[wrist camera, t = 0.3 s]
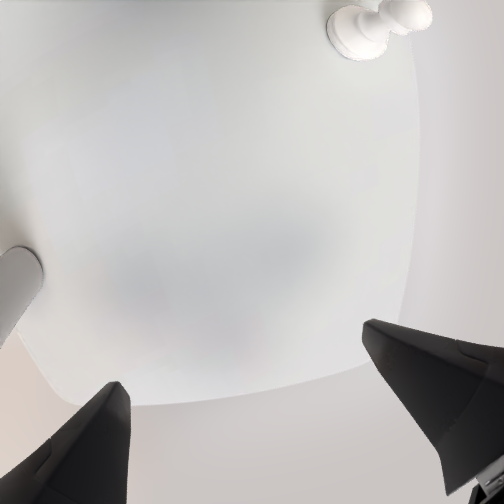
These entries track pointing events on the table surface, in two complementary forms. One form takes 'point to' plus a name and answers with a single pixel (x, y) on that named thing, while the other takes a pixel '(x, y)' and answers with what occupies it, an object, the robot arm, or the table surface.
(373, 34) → the chess pawn
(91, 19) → the table surface
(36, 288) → the beverage can
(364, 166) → the table surface
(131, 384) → the table surface
